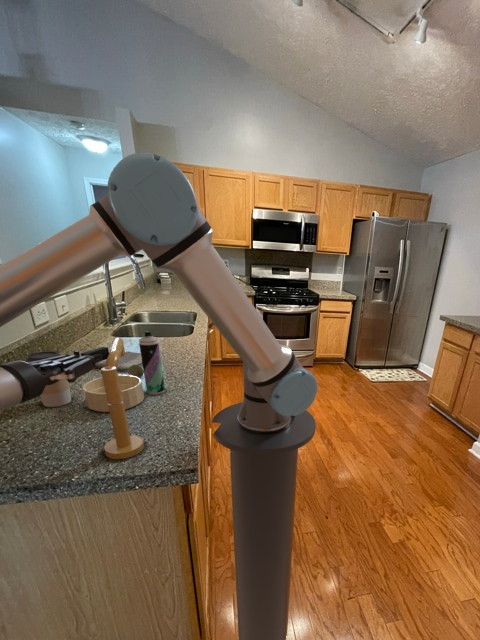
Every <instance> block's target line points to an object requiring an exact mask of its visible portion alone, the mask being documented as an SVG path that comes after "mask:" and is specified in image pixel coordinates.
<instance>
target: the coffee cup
mask: <svg viewBox="0 0 480 640" xmlns="http://www.w3.org/2000/svg"><path fill="white" fill-rule="evenodd" d="M60 355H61V354H60V353H59V352H58V351H52V350H51V351H50V350H49V351H38V352H30V353H29V354H28V357H27V358H26V360H25V362H32V361H37V360H42V359H46V358H51V357H55V356H60ZM70 387H71V386H70V383H69V382H68V381H67V380H66V379H62V380H59V381H58V382H57V383H55V384H52V385H46V386H45V388H44V391H43V393H42V394H41V395H40V396H39V397H40V400H41V403H42V404H43V406H44V407H46V408H56V407H63V406H65V405H67V404H69V403H71V402H72V396H71V388H70Z"/></svg>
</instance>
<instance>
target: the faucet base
mask: <svg viewBox="0 0 480 640" xmlns="http://www.w3.org/2000/svg"><path fill="white" fill-rule="evenodd" d="M108 408H109V412H108V413H109V416H110V422H111V426H112V430H113V435H114V438H112V439H110V440H109V441H108V442H106V443H105V445H104V446H103V450H104V453H105V456H106V457H107V458H109V459H113V460H125V459H129V458H132V457H135V456H137V455H138V454H140V453H141V452H142V451H143V450H144V448H145V443H144V439H143V437H141V436H139V435H136V434H135V435H134V434H131V433H130V428H129V423H128V418H127V414H126V409H125V407H124V402H123V401H122V402H120V403H118V404H109V403H108Z"/></svg>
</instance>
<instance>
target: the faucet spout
mask: <svg viewBox="0 0 480 640" xmlns="http://www.w3.org/2000/svg"><path fill="white" fill-rule="evenodd" d="M124 343H125V342H124V340H123V339H122V338H120V337H116V338H114V339H113V341H112V345H111V348H110V350H109V355H108V358H107V361H106V363H105V366H104V368H100V374H101V377H102V378H103V382H104V387H105V391H106V396H107V401H108V403H109V404H118V403H120V402H122V401H123V400H122V395H121V390H120V385H119V380H118V375H119V374H118V370H117V367H118V363H119V359H120V357H122V356H125V352H126V351H125V344H124Z"/></svg>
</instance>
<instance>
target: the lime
mask: <svg viewBox="0 0 480 640" xmlns="http://www.w3.org/2000/svg"><path fill="white" fill-rule="evenodd" d="M127 373H128V374H127V375H131V376H136V377H139V378H140V379H141V378H143V377H144V370H143V366H139V365H132V366H130V367H129V370H128V371H127Z"/></svg>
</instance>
